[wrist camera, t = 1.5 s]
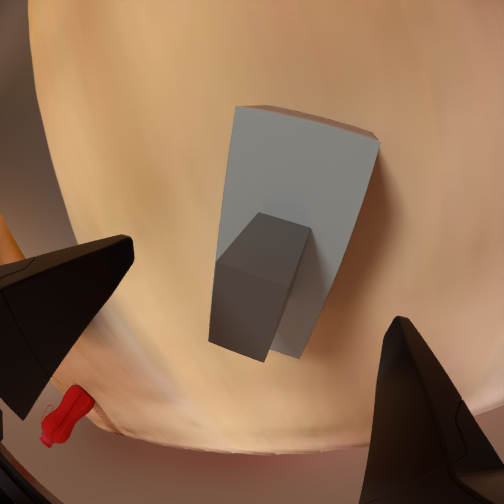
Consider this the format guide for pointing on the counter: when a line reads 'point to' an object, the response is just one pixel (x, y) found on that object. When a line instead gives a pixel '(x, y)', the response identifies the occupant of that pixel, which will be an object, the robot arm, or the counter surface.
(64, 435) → the water bottle
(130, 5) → the counter surface
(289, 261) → the lid
